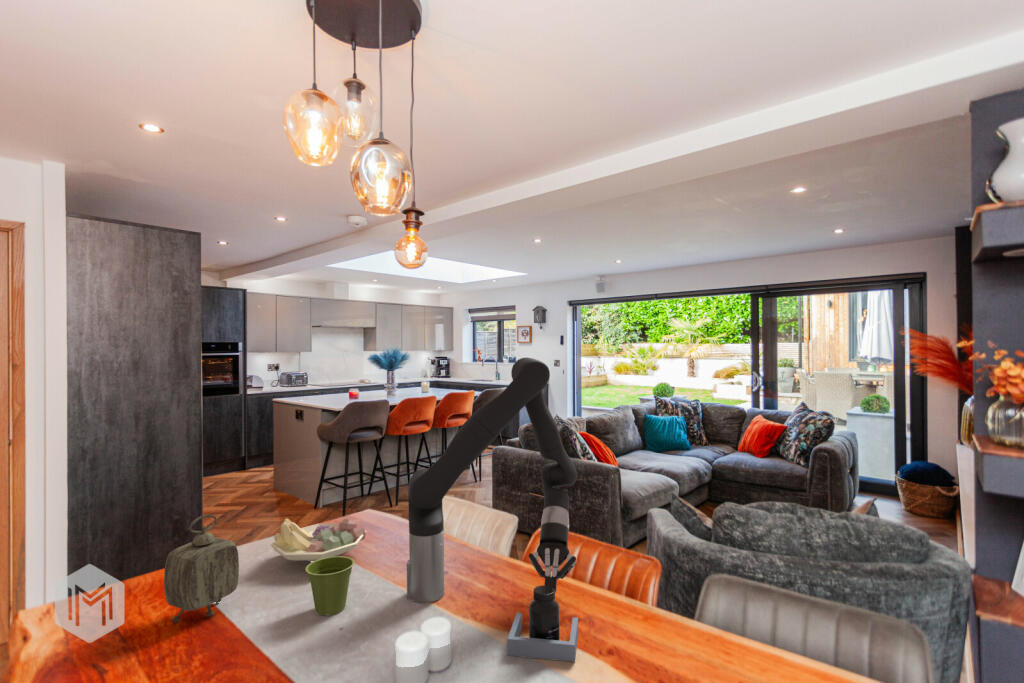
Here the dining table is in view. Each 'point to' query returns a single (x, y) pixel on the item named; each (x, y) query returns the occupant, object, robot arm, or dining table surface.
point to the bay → (542, 644)
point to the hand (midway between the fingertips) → (550, 594)
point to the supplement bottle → (544, 614)
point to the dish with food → (317, 540)
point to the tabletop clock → (201, 571)
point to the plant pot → (330, 583)
